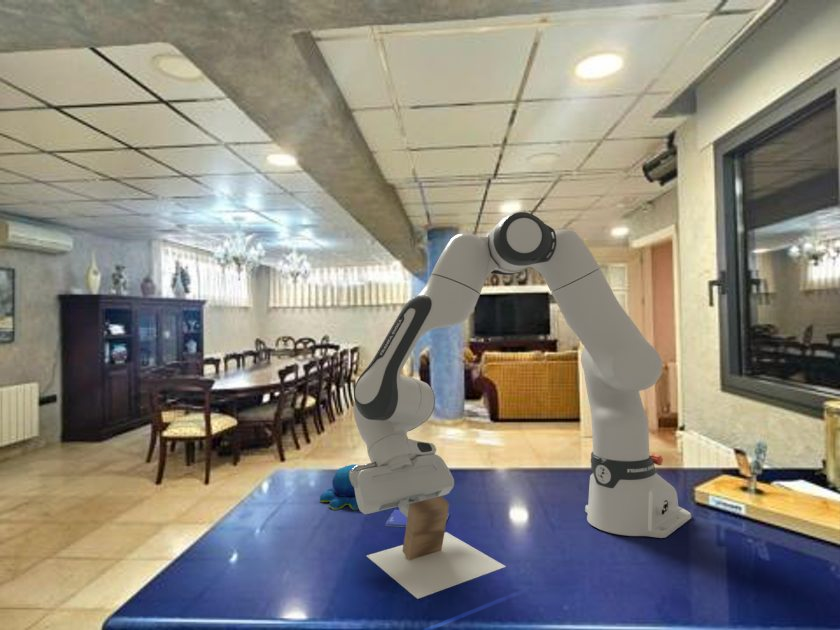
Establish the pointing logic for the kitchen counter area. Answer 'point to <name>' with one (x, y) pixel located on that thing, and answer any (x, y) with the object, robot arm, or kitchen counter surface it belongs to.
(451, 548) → the mat
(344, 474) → the plush toy
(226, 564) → the kitchen counter surface
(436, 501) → the teal-faced wooden block
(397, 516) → the hard drive
